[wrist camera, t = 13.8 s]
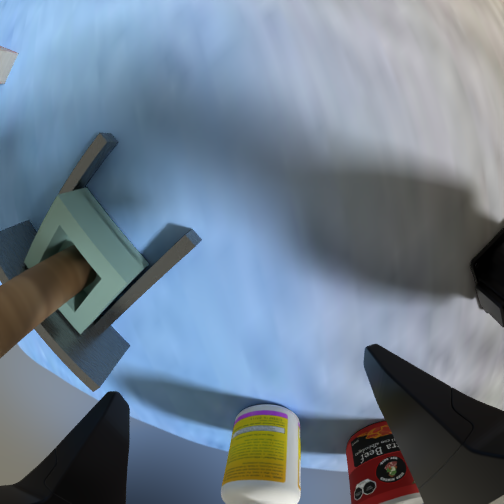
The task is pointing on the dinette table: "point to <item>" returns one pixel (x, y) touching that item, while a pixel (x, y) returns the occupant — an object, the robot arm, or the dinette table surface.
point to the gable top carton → (6, 63)
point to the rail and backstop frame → (99, 331)
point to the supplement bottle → (263, 457)
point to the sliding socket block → (87, 252)
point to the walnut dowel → (40, 293)
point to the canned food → (379, 468)
